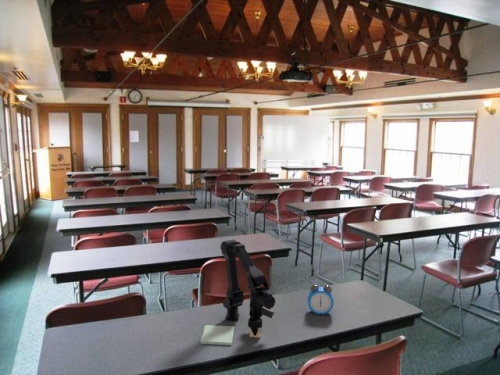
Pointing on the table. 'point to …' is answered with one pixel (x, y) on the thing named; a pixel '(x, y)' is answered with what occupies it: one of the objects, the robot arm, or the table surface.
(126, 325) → the table surface
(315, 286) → the alarm clock
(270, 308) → the robot arm
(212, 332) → the green pad
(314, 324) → the table surface
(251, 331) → the birch cube
